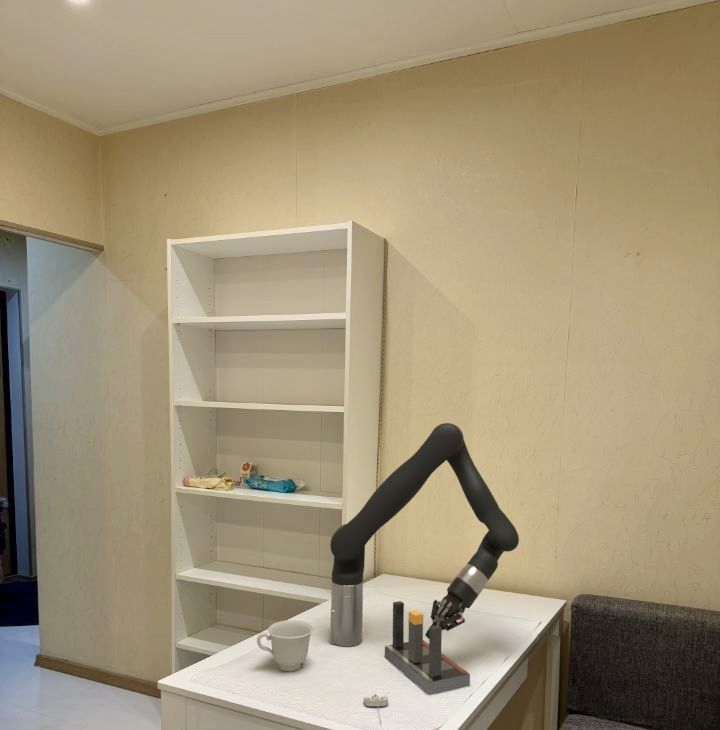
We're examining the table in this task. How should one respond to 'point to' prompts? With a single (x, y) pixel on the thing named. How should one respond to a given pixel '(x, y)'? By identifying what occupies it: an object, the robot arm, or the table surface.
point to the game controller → (376, 701)
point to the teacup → (288, 643)
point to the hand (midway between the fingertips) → (428, 638)
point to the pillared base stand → (425, 659)
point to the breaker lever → (415, 636)
